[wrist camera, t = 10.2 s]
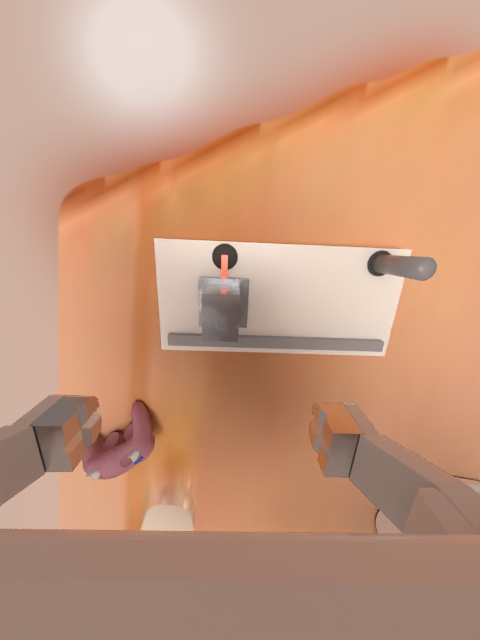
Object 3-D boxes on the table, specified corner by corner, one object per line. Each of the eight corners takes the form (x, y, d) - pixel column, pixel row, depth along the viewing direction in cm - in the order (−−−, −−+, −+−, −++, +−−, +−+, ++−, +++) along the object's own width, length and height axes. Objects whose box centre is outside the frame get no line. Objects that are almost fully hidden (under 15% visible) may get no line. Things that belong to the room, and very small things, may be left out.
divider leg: (249, 256, 23) (254, 259, 17) (246, 324, 25) (249, 347, 19) (199, 253, 23) (187, 256, 17) (200, 322, 25) (189, 346, 19)
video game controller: (106, 435, 34) (95, 491, 29) (78, 426, 31) (61, 487, 26) (161, 408, 33) (160, 462, 28) (138, 396, 30) (133, 454, 25)
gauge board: (398, 249, 25) (468, 250, 18) (374, 348, 29) (424, 385, 22) (160, 238, 25) (126, 235, 17) (166, 342, 28) (141, 378, 21)
